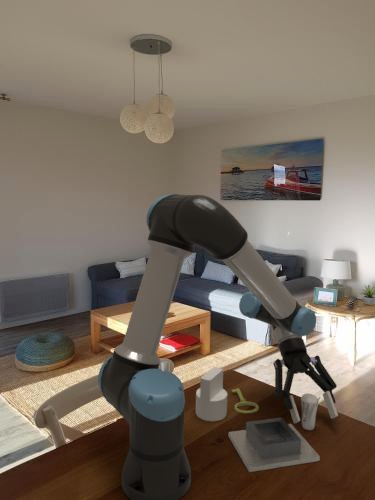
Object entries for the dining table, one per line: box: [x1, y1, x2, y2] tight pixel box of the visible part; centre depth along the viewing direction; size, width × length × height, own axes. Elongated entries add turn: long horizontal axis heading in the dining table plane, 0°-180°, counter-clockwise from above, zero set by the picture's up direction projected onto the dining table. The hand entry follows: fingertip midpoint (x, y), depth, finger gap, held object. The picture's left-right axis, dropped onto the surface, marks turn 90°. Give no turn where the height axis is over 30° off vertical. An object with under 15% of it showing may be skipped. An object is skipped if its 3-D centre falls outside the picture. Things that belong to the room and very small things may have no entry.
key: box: [231, 387, 260, 414], centre depth 121 cm, size 7×12×2 cm, turn 27°
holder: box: [228, 417, 321, 473], centre depth 99 cm, size 18×14×5 cm
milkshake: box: [300, 392, 321, 431], centre depth 108 cm, size 4×5×10 cm
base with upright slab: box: [195, 366, 228, 422], centre depth 115 cm, size 9×9×12 cm
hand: (316, 419), depth 105 cm, fingers open, 10 cm apart
